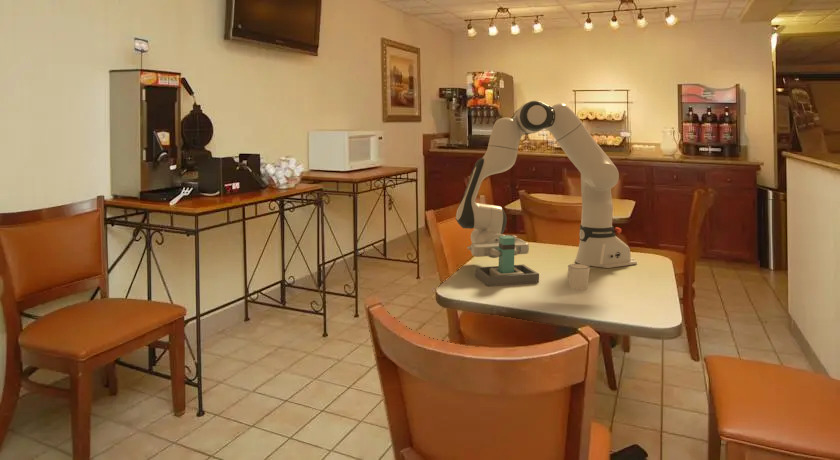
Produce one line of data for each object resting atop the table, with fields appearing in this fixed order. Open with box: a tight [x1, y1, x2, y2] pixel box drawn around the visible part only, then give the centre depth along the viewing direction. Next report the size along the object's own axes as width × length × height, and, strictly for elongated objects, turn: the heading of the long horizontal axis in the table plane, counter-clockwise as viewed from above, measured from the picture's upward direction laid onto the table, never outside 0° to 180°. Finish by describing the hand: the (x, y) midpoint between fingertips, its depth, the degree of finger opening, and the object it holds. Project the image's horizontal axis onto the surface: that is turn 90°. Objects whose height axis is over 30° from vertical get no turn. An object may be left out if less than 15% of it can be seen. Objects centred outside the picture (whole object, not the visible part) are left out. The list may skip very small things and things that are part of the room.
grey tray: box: [474, 264, 540, 287], centre depth 191 cm, size 18×13×3 cm
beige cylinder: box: [567, 263, 591, 290], centre depth 181 cm, size 7×7×7 cm
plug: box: [498, 236, 515, 273], centre depth 190 cm, size 4×4×13 cm
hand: (507, 253), depth 189 cm, fingers closed on plug, 4 cm apart
